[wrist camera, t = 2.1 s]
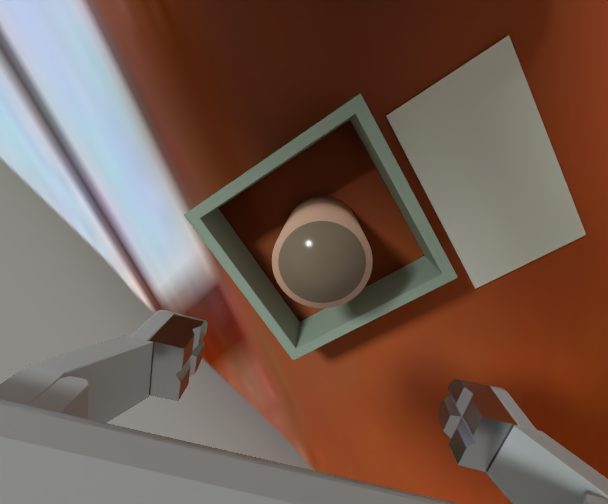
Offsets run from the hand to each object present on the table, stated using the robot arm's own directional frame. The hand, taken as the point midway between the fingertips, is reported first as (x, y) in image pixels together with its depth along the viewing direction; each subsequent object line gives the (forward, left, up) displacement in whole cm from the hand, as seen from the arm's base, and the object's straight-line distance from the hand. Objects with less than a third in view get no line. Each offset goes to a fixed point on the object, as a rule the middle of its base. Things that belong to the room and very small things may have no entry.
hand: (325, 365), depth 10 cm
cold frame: (0, 0, -16) cm, 16 cm away
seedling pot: (0, 0, -16) cm, 16 cm away
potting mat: (+3, +13, -16) cm, 21 cm away
